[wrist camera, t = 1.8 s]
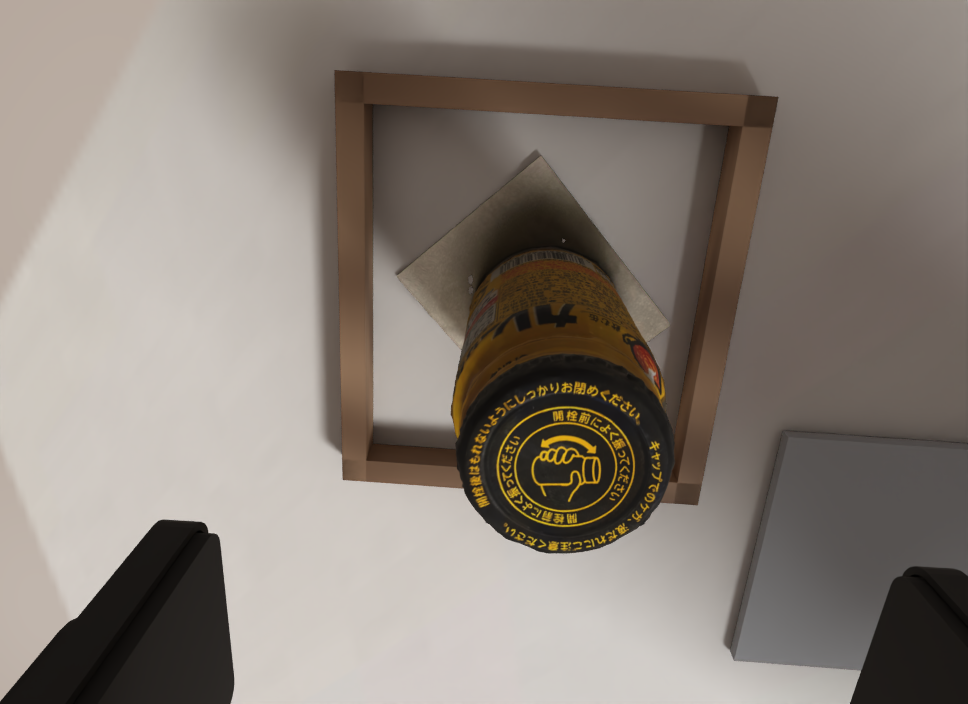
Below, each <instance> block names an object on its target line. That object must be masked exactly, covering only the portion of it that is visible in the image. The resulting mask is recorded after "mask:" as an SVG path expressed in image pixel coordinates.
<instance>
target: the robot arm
mask: <svg viewBox="0 0 968 704" xmlns="http://www.w3.org/2000/svg"><path fill="white" fill-rule="evenodd" d="M233 691H234V671H233V662H232V652H231V642H230V633H229V623H228V613H227V604H226V594H225V584H224V575H223V565H222V556H221V546H220V540H219V537H218V535H217V534H212V533H208V528H207V526H206V525H205V523H202V522H194V521H178V520H160V521H158V522H157V523H156V524H154V525H153V527H152V528H151V529H150V530H149V531H148V533H147V534H146V535H145V536H144V537H143V539H142V540H141V541H140V542H139V544H138V545H137V546H136V547H135V548H134V550H133V551H132V552H131V553H130V554H129V556H128V557H127V558H126V559H125V561H124V562H123V563H122V564H121V565H120V567H119V568H118V569H117V570H116V571H115V573H114V574H113V575H112V576H111V577H110V579H109V580H108V581H107V582H106V584H105V585H104V586H103V587H102V588H101V590H100V591H99V592H98V593H97V594H96V596H95V597H94V598H93V599H92V601H91V602H90V603H89V604H88V605H87V607H86V608H85V609H84V610H83V611H82V613H81V614H80V615H79V616H78V618H76V619H73V620H71V621H69V622H68V623H67V624H66V625H65V626H64V627H63V628H62V629H61V630H60V631H59V632H58V633H57V634H56V636H55V637H54V638H53V639H52V640H51V642H50V643H49V644H48V645H47V646H46V648H45V649H44V650H43V651H42V652H41V653H40V655H39V656H38V657H37V658H36V660H35V661H34V662H33V663H32V664H31V665H30V667H29V668H28V669H27V670H26V671H25V673H24V674H23V675H22V676H21V677H20V679H19V680H18V681H17V682H16V683H15V685H14V686H13V687H12V688H11V689H10V691H9V692H8V693H7V694H6V695H5V696H4V698H3V699H2V700H1V701H0V704H230V703H231V700H232V696H233ZM850 704H968V576H967V575H966V574H965V573H963V572H962V571H960V570H957V569H954V568H937V567H921V566H913V567H909V568H908V569H907V570H905V571H904V573H903V575H902V576H899V577H896V578H895V579H894V580H893V582H892V583H891V586H890V589H889V592H888V594H887V597H886V600H885V603H884V606H883V609H882V612H881V615H880V618H879V621H878V624H877V627H876V629H875V632H874V635H873V638H872V641H871V644H870V647H869V650H868V653H867V656H866V659H865V661H864V664H863V667H862V670H861V673H860V676H859V679H858V682H857V685H856V688H855V691H854V694H853V696H852V699H851V702H850Z"/></svg>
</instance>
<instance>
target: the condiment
mask: <svg viewBox="0 0 968 704" xmlns="http://www.w3.org/2000/svg"><path fill="white" fill-rule="evenodd" d="M562 239H565V240H566V241H565V242H564V243H562ZM470 275H472V277H473V282H472V284H471V285H470V284H469V283H468V277H469V276H470ZM397 278H398V279H399V280H400V281H401V282H402V283H403V285H404V286H405V287H406V288H407V289H408V291H409V292H410V293H411V294H412V295H413V296H414V297H415V298H416V299H417V300H418V301H419V303H420V304H421V305H422V306H423V307H424V309H425V310H426V311H427V312H428V314H429V315H430V316H431V317H432V318H433V319H434V320H435V321H436V322H437V323H438V324H439V325H440V327H441V328H442V329H443V330H444V332H445V333H446V334H447V335H448V336H449V337H450V338H451V339H452V340H453V341H454V343H455V344H456V345H457V346H458V347H459V348H460V349H461V350H462V351H461V356H460V361H459V364H458V371H457V375H456V380H455V387H454V393H453V401H452V405H451V416H452V419H453V423H454V429H455V434H456V436H457V439H458V440H457V442H456V458H457V459H456V461H457V470H458V471H459V473H460V479H461V481H462V483H463V484H462V487H463V488H464V492H465V494H466V496H467V498H468V500H469V501H470V503H471V504H472V506H473V507H474V508H475V510H476V511H477V512H478V513H479V514H480V515H481V516H482V517H483V519H484V520H485V521H486V523H488V524H490V525H491V526H492V527H493V528H494V529H495V530H496V531H497V532H498V533H500V534H501V535H502V536H503V537H505V538H506V539H508V540H511V541H514V542H517V543H520V544H523V545H526V546H528V547H530V548H532V549H534V550H536V551H539V552H544V553H576V552H584V551H589V550H594V549H598V548H601V547H603V546H606V545H608V544H611V543H613V542H614V541H616V540H617V539H619V538H621V537H623V536H624V535H626V534H628V533H630V532H631V531H633V530H635V529H637V528H638V527H639V526H641V525H643V524H644V523H645V522H646V520H647V519H648V518H649V517H650V515H651V513H652V512H653V511H654V510H655V509H656V508H657V506H658V505H659V504H660V502H661V500H662V498H663V496H664V494H665V491H666V489H667V486H668V483H669V480H670V477H671V472H672V469H673V467H674V464H675V459H674V446H675V442H674V436H673V432H672V428H671V425H670V423H669V420H668V417H667V414H666V393H665V385H664V379H663V377H662V375H661V372H660V369H659V367H658V365H657V363H656V361H655V358H654V356H653V354H652V352H651V350H650V348H649V347H648V345H647V344H646V342H648V341H649V340H651V339H652V338H654V337H655V336H657V335H658V334H659V333H661V332H662V331H664V330H665V329H666V328H668V327H669V326H670V323H669V322H668V321H667V319H666V318H665V317H664V316H663V314H662V313H661V312H660V310H659V309H658V308H657V306H656V305H655V304H654V302H653V301H652V300H651V299H650V297H649V296H648V295H647V293H646V292H645V291H644V289H643V288H642V287H641V285H640V284H639V283H638V282H637V280H636V279H635V278H634V276H633V275H632V274H631V272H630V271H629V270H628V268H627V267H626V266H625V264H624V263H623V262H622V261H621V259H620V258H619V257H618V255H617V254H616V253H615V251H614V250H613V249H612V248H611V246H610V245H609V244H608V242H607V241H606V240H605V238H604V237H603V236H602V234H601V233H600V232H599V231H598V229H597V228H596V227H595V225H594V224H593V223H592V222H591V220H590V219H589V217H588V216H587V215H586V214H585V212H584V211H583V209H582V208H581V207H580V206H579V204H578V203H577V202H576V200H575V199H574V197H573V196H572V195H571V194H570V193H569V191H568V190H567V189H566V187H565V186H564V185H563V184H562V182H561V181H560V180H559V178H558V177H557V176H556V174H555V173H554V172H553V170H552V169H551V168H550V166H549V165H548V164H547V163H546V161H545V160H544V159H543V157H542V156H540V157H539V158H537V159H536V160H535V161H534V162H533V163H531V164H530V165H529V166H528V167H527V168H526V169H525V170H523V171H522V172H520V173H519V174H518V175H517V176H516V177H514V178H513V179H512V180H511V181H510V182H508V183H507V184H506V185H505V186H504V187H502V188H501V189H500V190H499V191H498V192H496V193H495V194H494V195H493V196H492V197H490V198H489V199H488V200H487V201H485V202H484V203H483V204H482V205H481V206H480V207H479V208H477V209H476V210H475V211H474V212H472V213H471V214H470V215H469V216H468V217H466V218H465V219H464V220H463V221H462V222H460V223H459V224H458V225H457V226H456V227H455V228H453V229H452V230H451V231H450V232H448V233H447V234H446V235H445V236H444V237H443V238H441V239H440V240H439V241H438V242H437V243H435V244H434V245H433V246H432V247H431V248H429V249H428V250H427V251H426V252H425V253H423V254H422V255H421V256H420V257H419V258H418V259H416V260H415V261H414V262H413V263H412V264H410V265H409V266H408V267H407V268H406V269H404V270H403V271H402V272H401V273H400V274H398V275H397ZM471 286H472V287H473V288H474V290H473V293H471V294H470V293H469V288H470V287H471Z"/></svg>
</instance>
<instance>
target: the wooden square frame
mask: <svg viewBox="0 0 968 704" xmlns="http://www.w3.org/2000/svg"><path fill="white" fill-rule="evenodd" d="M777 102H778V97H772V96H755V95H738V94H722V93H705V92H688V91H672V90H655V89H638V88H622V87H605V86H588V85H572V84H555V83H538V82H522V81H505V80H488V79H472V78H455V77H438V76H422V75H405V74H388V73H372V72H355V71H339V70H335V119H336V169H337V219H338V270H339V320H340V370H341V420H342V471H343V480H352V481H366V482H380V483H394V484H408V485H422V486H436V487H450V488H463V487H462V484H463V483H462V481H461V479H460V473H459V471H458V470H457V461H456V459H457V458H456V450H455V449H441V448H427V447H412V446H398V445H384V444H373V104H380V105H397V106H413V107H429V108H446V109H462V110H479V111H495V112H512V113H528V114H544V115H561V116H577V117H594V118H610V119H626V120H643V121H659V122H676V123H692V124H709V125H725V126H729V129H728V135H727V141H726V146H725V152H724V158H723V163H722V169H721V175H720V180H719V186H718V192H717V197H716V203H715V209H714V214H713V220H712V226H711V231H710V237H709V243H708V248H707V254H706V260H705V265H704V271H703V277H702V282H701V288H700V294H699V299H698V305H697V311H696V317H695V322H694V328H693V334H692V339H691V345H690V351H689V356H688V362H687V368H686V373H685V379H684V385H683V390H682V396H681V402H680V407H679V413H678V419H677V424H676V430H675V436H674V442H675V446H674V459H675V464H674V467H673V469H672V472H671V477H670V480H669V483H668V486H667V489H666V491H665V494H664V496H663V498H662V500H661V502H660V503H674V504H688V505H698V501H699V496H700V491H701V486H702V481H703V476H704V471H705V466H706V461H707V455H708V450H709V445H710V440H711V435H712V430H713V425H714V420H715V415H716V410H717V405H718V400H719V395H720V390H721V385H722V380H723V375H724V370H725V365H726V360H727V355H728V349H729V344H730V339H731V334H732V329H733V324H734V319H735V314H736V309H737V304H738V299H739V294H740V289H741V284H742V279H743V274H744V269H745V264H746V259H747V254H748V248H749V243H750V238H751V233H752V228H753V223H754V218H755V213H756V208H757V203H758V198H759V193H760V188H761V183H762V178H763V173H764V168H765V163H766V158H767V153H768V148H769V142H770V137H771V132H772V127H773V122H774V117H775V112H776V107H777Z"/></svg>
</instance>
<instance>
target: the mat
mask: <svg viewBox="0 0 968 704" xmlns="http://www.w3.org/2000/svg"><path fill="white" fill-rule="evenodd" d="M913 566H921V567H937V568H954V569H957V570H960V571H962V572H963V573H965V574H966V575H967V576H968V443H954V442H939V441H925V440H910V439H896V438H881V437H867V436H852V435H838V434H823V433H809V432H795V431H783V433H782V437H781V441H780V445H779V449H778V453H777V458H776V462H775V466H774V470H773V474H772V478H771V483H770V487H769V491H768V495H767V499H766V504H765V508H764V512H763V516H762V520H761V524H760V529H759V533H758V537H757V541H756V545H755V549H754V554H753V558H752V562H751V566H750V570H749V574H748V579H747V583H746V587H745V591H744V595H743V600H742V604H741V608H740V612H739V616H738V620H737V625H736V629H735V633H734V637H733V641H732V645H731V650H730V652H731V654H732V657H733V659H734V661H745V662H758V663H772V664H785V665H798V666H811V667H825V668H838V669H851V670H862V667H863V664H864V661H865V659H866V656H867V653H868V650H869V647H870V644H871V641H872V638H873V635H874V632H875V629H876V627H877V624H878V621H879V618H880V615H881V612H882V609H883V606H884V603H885V600H886V597H887V594H888V592H889V589H890V586H891V583H892V582H893V580H894V579H895V578H896V577H899V576H902V575H903V573H904V571H905V570H907V569H908V568H909V567H913Z"/></svg>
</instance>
